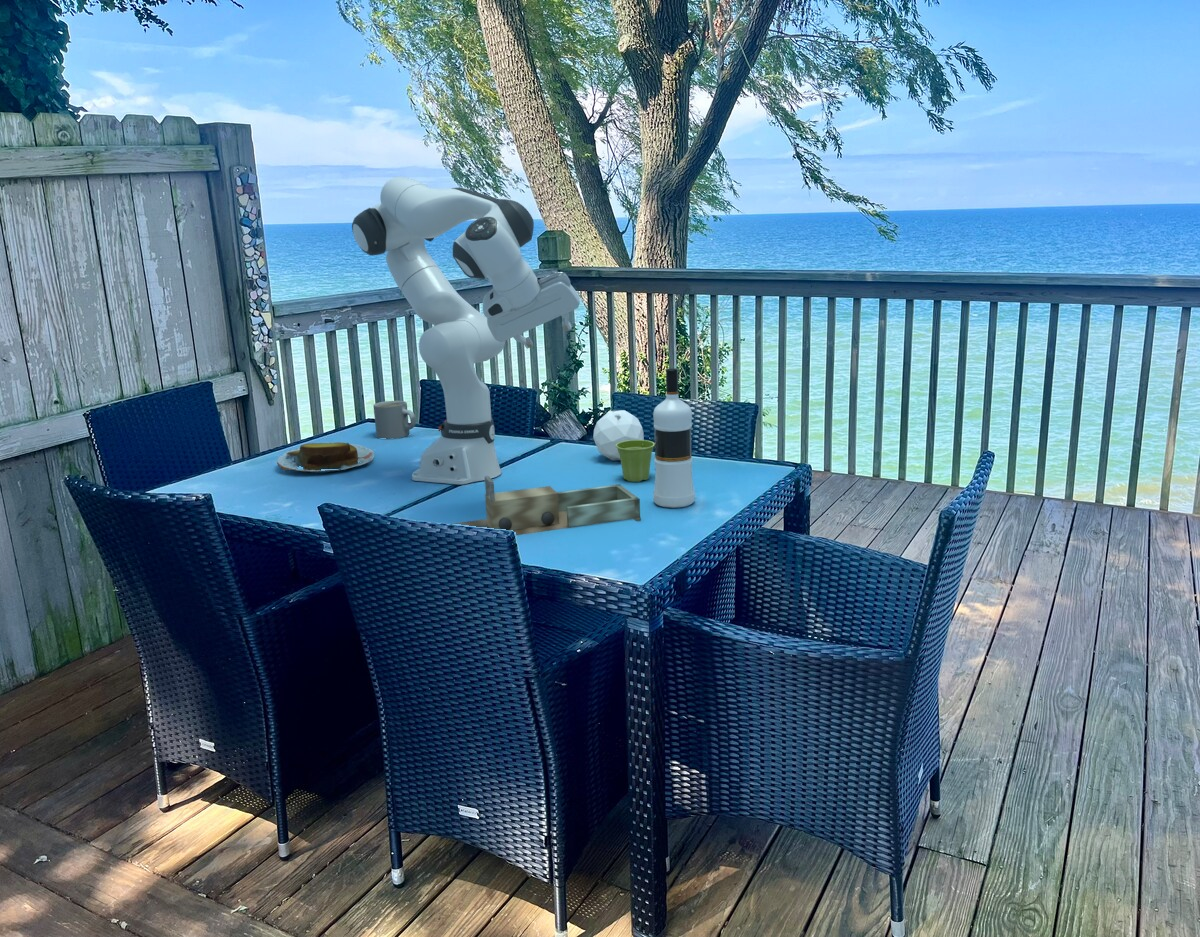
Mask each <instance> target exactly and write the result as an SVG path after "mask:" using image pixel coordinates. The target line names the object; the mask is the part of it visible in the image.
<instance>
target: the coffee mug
mask: <svg viewBox="0 0 1200 937" xmlns="http://www.w3.org/2000/svg"><path fill="white" fill-rule="evenodd" d="M407 403H408V402H407V401H404V400H386V401H380V402H376V403H373V404H372V405H373V414H374V424H375V425H374V426H375V434H376V438H377V437H378V438H377V439H379V438H386V439H385V440H391V439H390V438H399V439H402V438H401V437H404V438H406V437H405V436H407V437H409V436H410V435H409V434H411V433H410V430H412V429H414V428H415V426H416V421H417V420H416V415H415V413H414V411H412V410H409V409H408V404H407ZM409 420H410V421H409ZM408 435H409V436H408Z"/></svg>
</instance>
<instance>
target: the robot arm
mask: <svg viewBox="0 0 1200 937" xmlns="http://www.w3.org/2000/svg"><path fill="white" fill-rule="evenodd" d="M379 200H380V203H379V204H377V205H375V206H372V207H368V208H366V209H364V210H363V211H361V212H359V213H358V214H357V215H356V216H355V217H354V218H353V221H352V224H351V230H352V234H353V238H354V240H355V242H356V244H357V245H358V247H359V248H360V249H361V251H362V252H363V253H365V254H366V255H368V256H379V255H382V254H385V253H386V255H385V261H386V265H387V267H388V270H389V272H390V274H391V276H392V278H393V280H394V282H395V284H396V285H397V287H398V288H399V290H400V292H401V293H402V295H403V296H404V298H405V299H406V300H407V303H409V306H410V307H411V308H412V310H413V311H414V312H415V314H416V315H417V317H419V318H420V319H421V320H422V321H424V322H426V323H428V324H431V325H433V326H432V327H429V328H428V329H426V330H425V331H423V333H422V334H421V336H420V338H419V340H418V341H419V342H418V343H419V344H418V351H419V354H420V357H421V359H422V360H423V362H424V363H425V364H426V365H427V366H428V367H430V368H431V369H432V370H433V372H434V373H436V374H435V375H437V377H438V380H439V382H440V385H441V388H442V390H443V395H444V404H445V405H444V406H445V413H446V414H445V415H446V419H445V420H444V422H442V423H441V424H440V425H439V426H438V427H437V428H438V431H439V432H440V433H441V434H440V437H438V438H437V439H435V440H434V442H432V443H431V444H430V445H428V447H427V448H426V449H425V450H424V451H423V452H422V454H421V456H420V460H419V461H420V462H419V463H420V465H419V468H417V469H416V470H415V471H413V472H412V474H411V480H412V481H417V482H427V483H439V484H448V485H449V484H450V485H467V484H470V483H475V482H481V481H485V476H489V477H490V478H491V479H493V478H497V477H499V476H500V475H501V474H502V470H501V467H500V465H499V460H498V458H497V453H496V452H497V451H496V447H495V436H496V434H495V431H496V430H495V424H494V419H493V418H492V409H491V397H490V396H491V395H490V394H491V393H490V389H489V387H488V385H487V384H485V382H483V381H481V380H480V379H479V377H478V374H477V371H476V369H475V364H479V363H483V362H486V361H489V360H490V359H491V360H492V358H494V357H496V356H498V355H499V354H500V353H501V352H503V350H504V348H505V345H506V341H508V340H511V339H512V338H513V339H514V341H516V342H518V343H521V344H523V345H524V347H525V349H527V350H528V349H530V348H532V347H534V343H533V340H532V339H531V337H530V336H528V337H525V336H523V335H521V334H524V333H526V332H528V331H530V330H532V329H534V328H536V327H539V326H541V325H544V324H546V323H548V322H551V321H552V320H555V319H558V318H559V317H562V319H564V320H562V321H561V327H562V329H563V330H564V332H567V331H570V330H572V327H573V326H572V323H571V322H570V312H572V311H575V310H577V309H578V308H579V307H580V301H581V300H580V295H579V294H578V292H577V290H576V289H575V288H574V286H573V285H572V284H571V282H572V281H571V279H570V277H569V276H568V274H567V273H565V272H563V271H553V272H551V273H550V274H548V275H545V276H542V277H540V278H538V277H537V276H536V273H535V272H534V270H533V268H532V267H531V266H530V264H529V263H528V261H526V260H525V259H524V258H523V256H522V255H523V254H522V251H521V249H520V248H522V247H524V246H525V245H527V244H528V243H529V242H530V241H532V238H533V235H534V228H535V226H534V225H535V223H534V219H533V216H532V215H531V213H530V212H529V210H528V209H527V208H526V207H525V206H524V205H523V204H521V203H520V202H518V201H515V200H511V199H506V198H497V197H493V196H490V195H487V194H484V193H480V192H479V191H478V192H477V191H474V190H471V189H467V188H464V187H451V188H434V187H431V186H430V187H429V186H428V185H426V184H424V183H422V182H421V181H418V180H415V179H412V178H409V177H404V176H395V177H393V178H391V179H389V180H386V183H384V185H383V187H382V188H381V191H380V199H379ZM470 220H474V221H473V222H471V223H470V224H469V225H468V227H467V228H466V229H465V231H464V232H463V233H461V234H460V235H459V236H458V237H457V238H456V239H455V240H454V241H453V244H452V257H453V259H454V261H455V262H456V264H457V265H458V267H459V268H460V269H461V272H463V274H464V275H465V276H466V277H468V278H470V279H478V280H485V279H488V280H489V281H490V282H491V284H492V289H490V290H488V292H487V293H485V295H484V296H483V300H482V312H480V311H478V310H477V309H476V308H475V307H474V306H472V305H471V304H470V303H469V302H467V300H465V299H464V298H463V297H462V296H461V295H460V294H459V293H458V291H457V290H456V289H455V288H454V287H453V286H452V284H451V283H450V282H449V280H448V279H447V277H446V275H445V274H444V273H443V272H442V270H441V269H440V267H439V266H438V265H437V263H436V261H435V260H434V259H433V258H432V256H431V255H430V254H429V252H428V251H427V248H426V244H425V240H426V241H428V242H432V241H434V239H435V238H438V237H440V236H441V235H443V234H445V233H446V232H448V231H450V230H451V229H454V228H455V227H457V226H459V225H461V224H462V223H465V222H467V221H470Z"/></svg>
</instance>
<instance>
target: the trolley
mask: <svg viewBox="0 0 1200 937" xmlns="http://www.w3.org/2000/svg"><path fill="white" fill-rule="evenodd" d="M494 483H495V482H494V480H493V478H490V477H489V476H485V480H484V488H485V493H484V498H485V512H486V513H485V514H486V519H487V525H488V526H489V527H490V528H494V529H506V530H515V529H522V528H529V527H537V526H544V525H551V524H558V523H559V505H558V493H557V491H556V490H555V489H553V487H551V485H548V486H541V487H533V488H524V489H518V490H508V491H507V490H506V491H500V492H495V484H494Z"/></svg>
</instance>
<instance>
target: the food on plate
mask: <svg viewBox="0 0 1200 937" xmlns="http://www.w3.org/2000/svg"><path fill="white" fill-rule="evenodd" d="M374 458H375V452H374V450H373V449H371V448H368V447H366V446H363V445H360V444H353V443H349V442H317V443H315V442H313V443H311V442H310V443H304V444H301V445H300V447H298V448H294V449H290V450H288V451H286V452H283V454H281V455H279V456H278V458H277V459H276V464H277V465H278V466H280V469H281V470H283V471H287V470H290V471H291V470H294V471H297V472H298V471H301V472H310V473H329V471H332V472H337V471H339V470H325V471H321V469H341V470H340V471H346V470H347V469H351V468H354V467H359V466H362V465H366V464H367V463H370V462H372V461H373V460H374ZM358 461H360V462H361V463H358ZM299 466H301V467H303V470H302V469H298V468H297V467H299Z"/></svg>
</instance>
